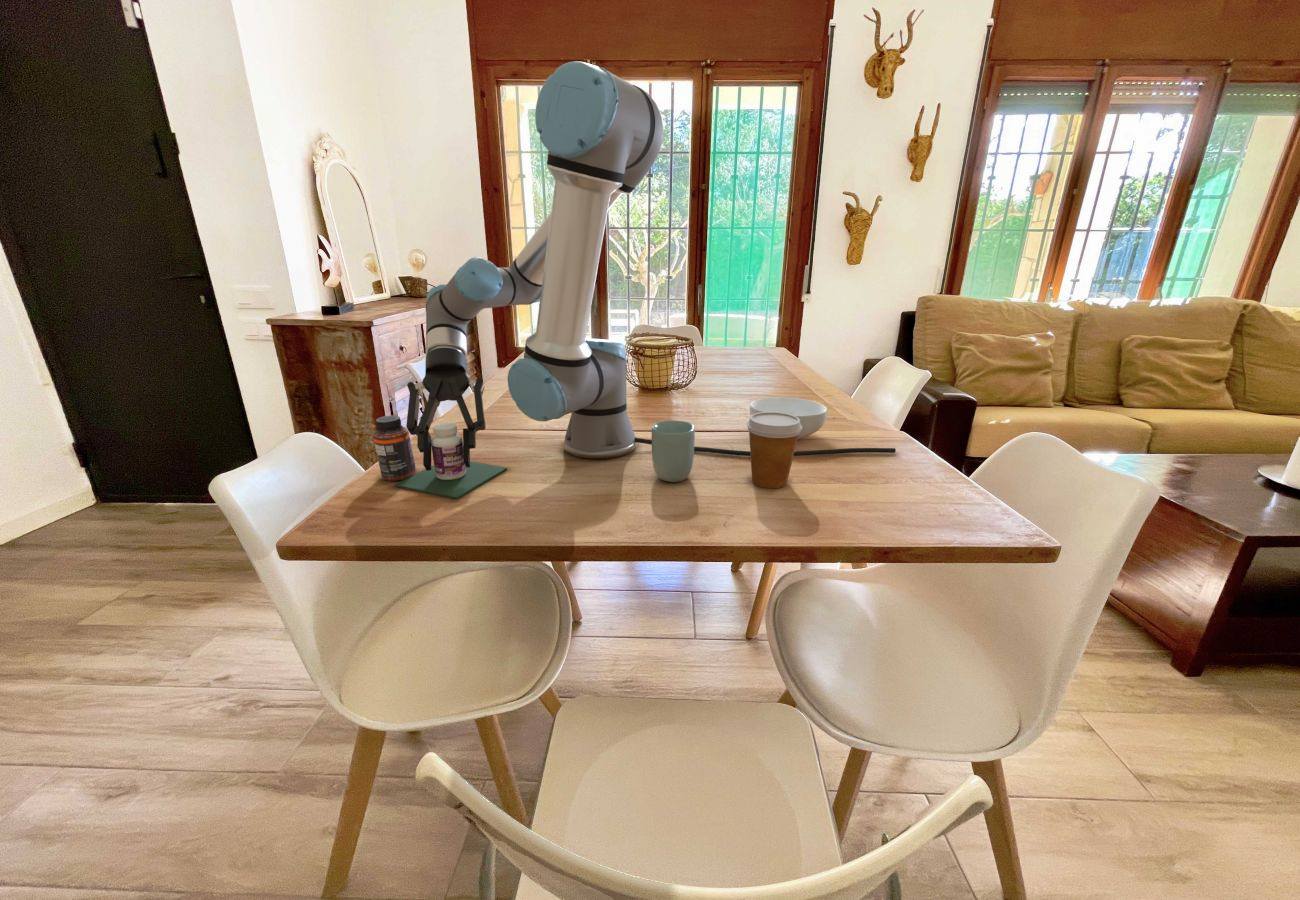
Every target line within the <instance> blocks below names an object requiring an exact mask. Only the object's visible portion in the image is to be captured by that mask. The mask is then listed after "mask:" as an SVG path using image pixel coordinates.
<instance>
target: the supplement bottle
mask: <svg viewBox="0 0 1300 900" xmlns="http://www.w3.org/2000/svg"><path fill="white" fill-rule="evenodd" d="M375 424H376V428H377V429H376V430H375V431H374V432H373V434H372V437H373V443H374V447H375V453H376V456H377V461H378V466H379V471H380V475H381V478H382V479H383V480H385V481H388V482H399V481H403V480H405V479H407V478H409V477H411V476H413V475H415V474H417V473H416V472H417V469H416V463H415V456H414V451H413V446H412V442H411V441H412V440H411V436H410V433H409V431H408V429H407V427H405V426H404V425H402V420H401V417H400V416H399V415H394V414H393V415H384V416H380V417H378V418H376V419H375Z"/></svg>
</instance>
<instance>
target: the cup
mask: <svg viewBox="0 0 1300 900" xmlns="http://www.w3.org/2000/svg"><path fill="white" fill-rule="evenodd" d="M695 439H696V429H695V425H694V424H693V423H691V422H689V421H684V420H674V419H673V420H670V419H669V420H661V421H656V422H655V423H653V425H652V427H651V440H652V445H651V462H652V468H653V471H654V473H655V475H656V477H657V478H658V479H660V480H661V481H664V482H667V483H678V482H679V483H680V482H682V481H684V480H686V479H687V478H688V477H689V476H690V474H691V472H692V470H693V466H694V465H693V464H694V460H695V459H694V458H695V451H694V446H695V442H696V441H695Z"/></svg>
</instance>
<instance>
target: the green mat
mask: <svg viewBox="0 0 1300 900" xmlns="http://www.w3.org/2000/svg"><path fill="white" fill-rule="evenodd" d="M507 470H508V467H505V466H499V465H494V464H493V465H492V464H486V463H480V462H476V461H475V462H474V461H470V467H466V474H465V475H464V476H463V477H461V478H458V479H453V480H441V479H439V478H437V477H436V473H435V467H434V465H431V470H429V471H427V470H426V469H424V470H421V471H420V472H417V473H415V474H414V475H413V476H411V477H409V478H407V479H404V480H400V481H398V482H396V483H395V484H393V486H394V487H396V488H400V489H405V490H410V491H415V492H420V493H424V494H430V495H434V496H439V497H444V498H449V499H455V500H458V499H460V498H462V497H464V496H465V495H466V494H468V493H470V492H472V491H473V490H476V489H477V488H478V487H481V486H482V485H484V484H485V483H487V482H489V481H490V480H493V479H494V478H495V477H497V476H499V475H501V474H502V473H504V472H505V471H507Z"/></svg>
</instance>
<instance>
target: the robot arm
mask: <svg viewBox="0 0 1300 900" xmlns="http://www.w3.org/2000/svg"><path fill="white" fill-rule="evenodd" d="M537 96H538V97H537V100H536V104H535V113H534V114H535V115H534V120H535V128H536V132H537V133H538V134H539V139H540V142H541V143H542V145H543V146H544V147H545V148H546V150H547V151H548V152H547V158H546V169H548V171H549V173H550V174H551V177H552V178H553V180H554V186H553V195H552V203H551V211H550V212H549V214H548V215H547V217H546V218H545V219H544V220H543V221H542V223H541V225H539V227H538V228H537V230H536V231H535V233H534V234H533V235H532V236H531V237H530V239H529V240H528V242H527V243H526V244H525V245H524V246H523V248H522V249H521V251H520V252H519V254H517V256H516V257H515V259H514V260H513V261H512V262H511V263H510V265H508V267H507V266H506V267H497V266H496V265H495V263H493V262H492V261H490V260H488V259H487V260H486V259H484V258H483V257H482V256H474V257H470V258H468V260H466V261H465V263H464V264H462V265H461V266H460V267H459V268H458V269H457V270H456V272H455V273H454V275H453V276H452V277H451V279H450V280H449V281H448V282H447V283H446V284H438V285H437V286H433V287H431V288H430V289H429V290H428V292H427V295H426V301H425V329H426V330H425V369H424V370H425V371H424V372H425V374H424V377H423V378H422V381H420V382H416V383H414V382H413V381H409V382H407V384H406V386H407V389H408V392H409V397H408V405H407V406H408V407H407V417H406V423H405V425H406V427H405V428H407V429H408V431H409V435H411V436H415V435H416V436H417V437H416V439H417V449H418V451H419V452H420V453H423V454H422V464H423V467H424V470H427V471H429V470H431V467H432V446H431V441H432V436H431V434H430V432H429V431H430V428H431V426H432V423H433V421H434V418H435V415H436V412H437V409H438V407H439V406H440V405H441V402H445V401H452V402H453V401H456V403H457V405H458V406H457V407H458V408H459V411H460V414H461V415H462V418H463V421H464V423H465V425H466V427H467V428H462V441H463V459H464V464H465V466H466V467H470V462H471V449H476V446H477V443H476V442H477V439H476V438H477V436H476V434H477V432H479V431H485V430H486V418H485V410H484V401H483V394H484V391H485V383H484V380H483V379H482V378H477V379H476V380H475V379H470V377H469V375H468V345H467V343H468V342H467V327H468V325H469V323H470V322H471V321H472V320H473V319H474V318H475V317H476V316H478V314H479V313H480V312H481V311H482V310H484V309H492V308H502V307H510V306H521V305H523V306H528V305H533V304H535V303H539V306H538V313H537V322H536V330H535V332H534V333H532V334H531V335H528V337H527V338H526V339H525V343H524V344H525V346H524V353H523V357H522V358H518V359H517V360H516V361H515V362H514V363H512V364H511V365H510V367H509V369H508V371H507V387H508V391H509V394H510V397H511V398H512V401H513V402H514V403H515V405H516V407H517V408H518V409H519V410H520V411H521V413H523V415H525V416H526V417H528V418H529V419H531V420H533V421H537V422H543V423H544V422H549V421H552V420H559V419H562V418H563V417H564V416H567V415H569V414H570V417H569V420H568V421H569V422H568V425H567V428H566V432H565V436H564V450H565V451H566V453H568V454H570V455H572V456H574V457H577V458H582V459H588V460H589V459H590V460H606V459H613V458H618V457H622V456H625V455H627V454H630V453H631V452H632V451H634V450H635V449H636V446H637V443H640V444H645V445H651V446H652V439H648V438H644V437H643V438H642V437H637V436H636V434H635V431H634V429H633V426H632V423H631V420H630V417H629V415H628V409H627V406H628V405H627V404H628V403H627V401H628V400H627V399H628V397H627V362H628V358H627V353H626V346H625V344H624V343H623V342H621V341H619V340H613V339H602V338H587V333H588V327H589V321H590V316H591V315H590V314H591V309H592V303H593V297H594V293H595V292H594V291H595V287H596V280H597V275H598V268H599V263H600V257H601V253H602V246H603V240H604V235H605V229H606V222H607V218H608V212H609V210H610V209H611V207H613V205H614V204H615V203H616V202H617V200H618V199H619V198H620V197H621V196H622V195H630V194H632V193H633V191H634V190H635V189H636V188H637V187H638V185H639V184H640V183H641V182H642V181H643V179H644V178H645V177H646V176H647V174H648V173H649V172H650V170H651V168H652V167H653V166H654V164H655V162H656V160H657V158H658V156H659V155H660V151H661V148H662V143H663V138H664V136H663V135H664V124H663V118H662V114H661V111H660V108H659V106H658V105H657V103H656V101H655V100H654V99H653V97H652V96H651V95H650V94H649V93H648V92H647V91H645V89H643V88H641V87H639V86H637V85H636V84H632V83H630V82H628V81H627V80H625V79H623V78H621V77H619V76H617V75H615V74H614V73H612V72H611V71H608V70H607V69H605V68H604V67H601V66H598V65H595V64H594V65H593V64H591V63H588V62H584V61H575V60H574V61H568V62H566V63H563V64H561V65H560V66H558V67H557V68H556V69H555V71H554V72H553V73H552V74H550V75H549V76H547V78H546V79H545V81H544V83H543V84H542V87H541V89H540V91H539V93H538V95H537ZM469 388H471V391H472V393H473V394H474V395H473V396H474V403H475V406H474V407H475V415H476V420H475V421H474V420H473V419H472V417H471V414H470V411H469V408H468V407H467V404H466V401H465V399H464V397H463V395H464V393H465V392H467V390H468V389H469ZM423 390H426V391H427V393H429V394H428V395H427V396H428V399H427V401H426V404H425V407H424V409H423V412H422V414H421V417H420V419H419V413H420V403H421V401H420V400H421V398H420V396H421V395H422V394H423ZM896 450H897V449H896V448H895V447H847V448H846V447H845V448H830V449H828V448H827V449H813V450H812V449H811V450H795V452H794V456H793V457H805V456H806V457H808V456H822V455H823V456H824V455H838V454H861V453H864V454H865V453H867V454H868V453H869V454H870V453H871V454H875V453H877V454H882V453H883V454H896ZM694 452H697V453H711V454H719V455H730V456H739V457H740V456H743V457H751V455H750V450H737V449H726V448H717V447H704V446H695V445H694Z"/></svg>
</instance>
